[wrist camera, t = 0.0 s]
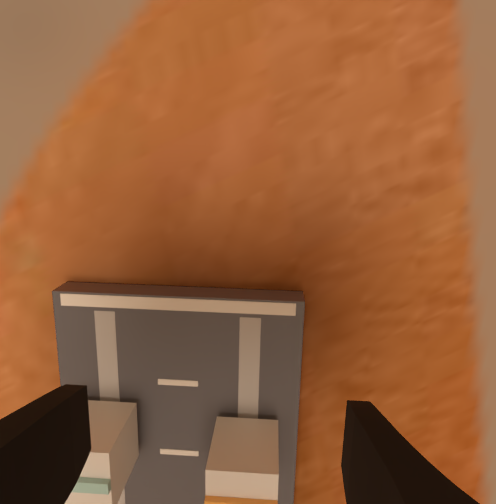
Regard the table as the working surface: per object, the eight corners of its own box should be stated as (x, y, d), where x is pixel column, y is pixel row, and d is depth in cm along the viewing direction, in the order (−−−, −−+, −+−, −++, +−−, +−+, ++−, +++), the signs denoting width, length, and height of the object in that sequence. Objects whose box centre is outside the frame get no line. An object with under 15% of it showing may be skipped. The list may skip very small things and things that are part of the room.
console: (287, 564, 25) (288, 591, 24) (88, 549, 26) (77, 574, 24) (302, 291, 21) (305, 302, 20) (66, 281, 22) (51, 291, 20)
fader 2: (275, 472, 22) (275, 541, 18) (216, 468, 22) (204, 536, 18) (278, 420, 21) (278, 480, 17) (217, 416, 21) (204, 475, 17)
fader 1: (138, 455, 22) (110, 519, 18) (81, 451, 22) (41, 514, 18) (136, 402, 21) (106, 458, 17) (77, 399, 21) (34, 454, 17)
